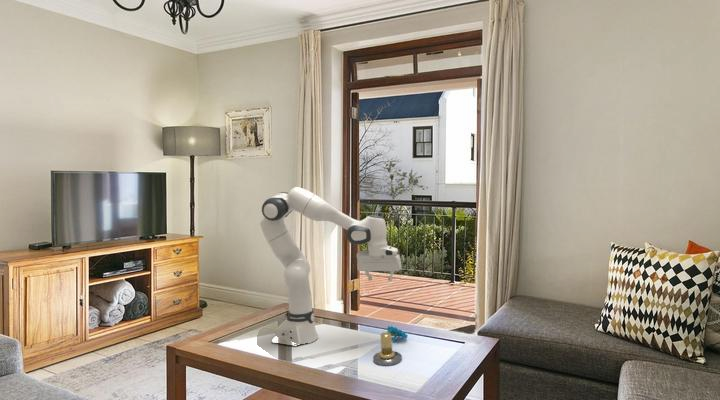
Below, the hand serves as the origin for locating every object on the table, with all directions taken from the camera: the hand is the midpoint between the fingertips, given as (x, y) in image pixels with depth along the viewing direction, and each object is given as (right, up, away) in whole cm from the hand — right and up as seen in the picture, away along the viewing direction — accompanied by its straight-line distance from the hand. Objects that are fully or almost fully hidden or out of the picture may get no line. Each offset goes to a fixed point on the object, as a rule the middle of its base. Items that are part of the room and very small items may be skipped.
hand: (380, 280), depth 205 cm
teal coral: (+8, -29, +4) cm, 30 cm away
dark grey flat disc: (+2, -30, -17) cm, 35 cm away
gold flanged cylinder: (+2, -29, -17) cm, 33 cm away
